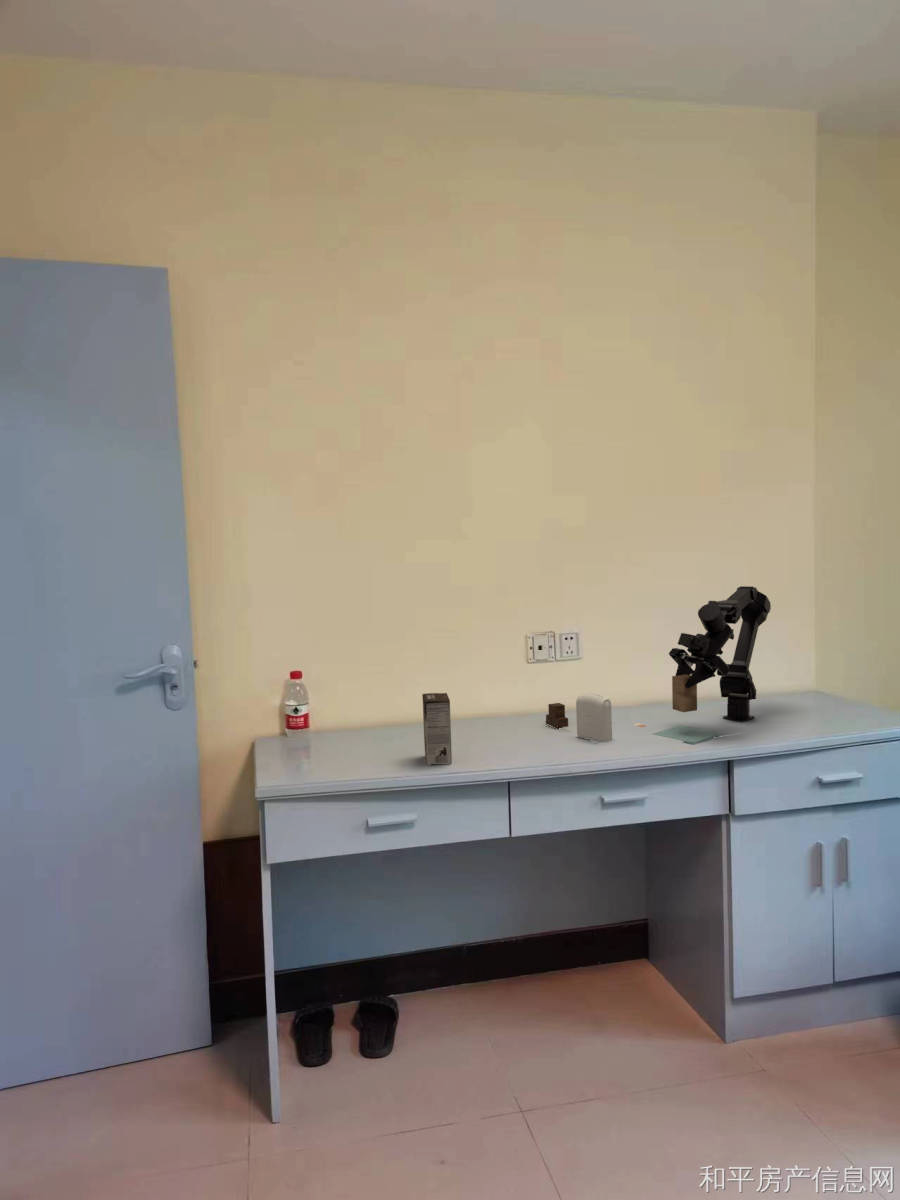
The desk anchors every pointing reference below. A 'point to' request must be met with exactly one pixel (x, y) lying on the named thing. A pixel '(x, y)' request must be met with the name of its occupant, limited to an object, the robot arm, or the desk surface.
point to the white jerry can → (594, 717)
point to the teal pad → (687, 734)
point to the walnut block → (683, 694)
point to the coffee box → (437, 728)
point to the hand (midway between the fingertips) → (680, 685)
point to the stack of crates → (557, 716)
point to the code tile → (639, 725)
